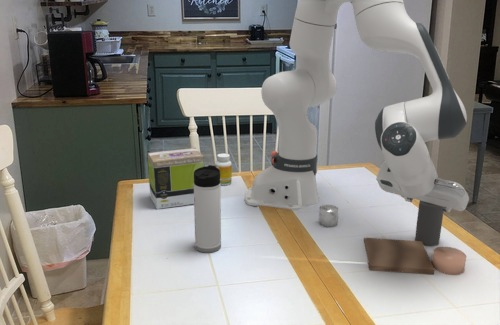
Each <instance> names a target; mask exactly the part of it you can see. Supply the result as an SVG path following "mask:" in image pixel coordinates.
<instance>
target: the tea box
mask: <svg viewBox="0 0 500 325" xmlns="http://www.w3.org/2000/svg"><path fill="white" fill-rule="evenodd" d="M147 164H148V165H147V166H148V180H149V181H148V182H149V194H150V199H151V200H152V202H153V204H154V206H155V209H156V210H158V209H159V210H160V209H168V208H174V207H175V208H176V207H182V206H187V205H188V206H189V205H190V206H191V205H194V171H195V170H196V169H198V168H201V167H206V166H205V156H204V154H202V153H201V152H200V151H199V150H198V149H197V148H196V147H191V148H180V149H172V150H171V149H170V150H163V151H161V150H160V151H155V152H154V151H152V152H151V151H150V152H147Z"/></svg>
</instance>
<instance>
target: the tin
mask: <svg viewBox="0 0 500 325" xmlns="http://www.w3.org/2000/svg"><path fill="white" fill-rule="evenodd" d="M318 213H319V214H318V216H319V217H318V224H319V226H321V227H324V228H335V227H337V226H338V224H339V207H338V206H336V205H334V204H324V205H320V206H319V211H318Z"/></svg>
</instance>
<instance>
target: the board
mask: <svg viewBox="0 0 500 325" xmlns="http://www.w3.org/2000/svg"><path fill="white" fill-rule="evenodd" d="M363 242H364V247H365V251H366V257H367V265H368V270H369V271H379V272H381V271H382V272H391V273H392V272H393V273H406V274H407V273H408V274H421V275H422V274H423V275H434V274H435V269H434V268H433V266H432V260H431V259H430V257H429V255H428V251H427V250H426V248H425V245H423V243H422V241H416V240H405V239H395V238H393V239H391V238H375V237H363Z"/></svg>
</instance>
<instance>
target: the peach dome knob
mask: <svg viewBox="0 0 500 325" xmlns="http://www.w3.org/2000/svg"><path fill="white" fill-rule="evenodd" d="M466 262H467V254H466V253H465V252H464V251H462V250H460V249H458V248H456V247H451V246H439V247H438V246H437V247H435V248H434V249H433V252H432V258H431V263H432V266H433V268H434V271H437V272H439V273H440V274H441V273H442V274H444V275H451V276H455V275H456V276H457V275H461V274H463V273H464V272H465V268H466V267H465V266H466Z"/></svg>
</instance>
